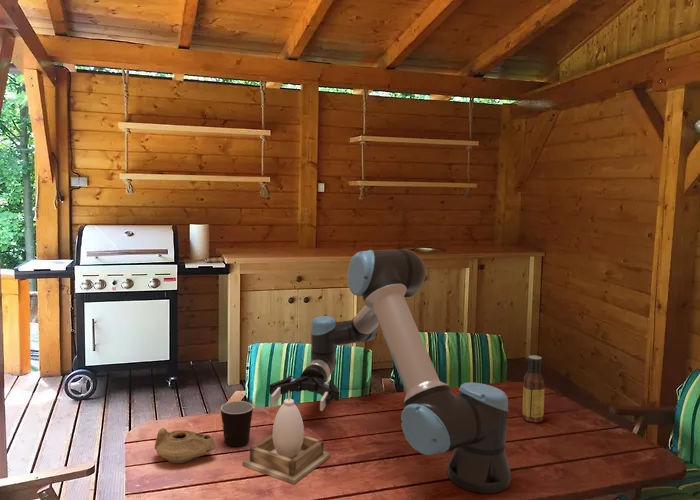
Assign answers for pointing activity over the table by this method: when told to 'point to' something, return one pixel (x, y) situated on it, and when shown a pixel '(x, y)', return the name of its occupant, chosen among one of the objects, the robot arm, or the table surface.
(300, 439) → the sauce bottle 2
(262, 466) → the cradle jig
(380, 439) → the table surface
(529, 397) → the sauce bottle
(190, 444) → the oil lamp
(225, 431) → the coffee mug
